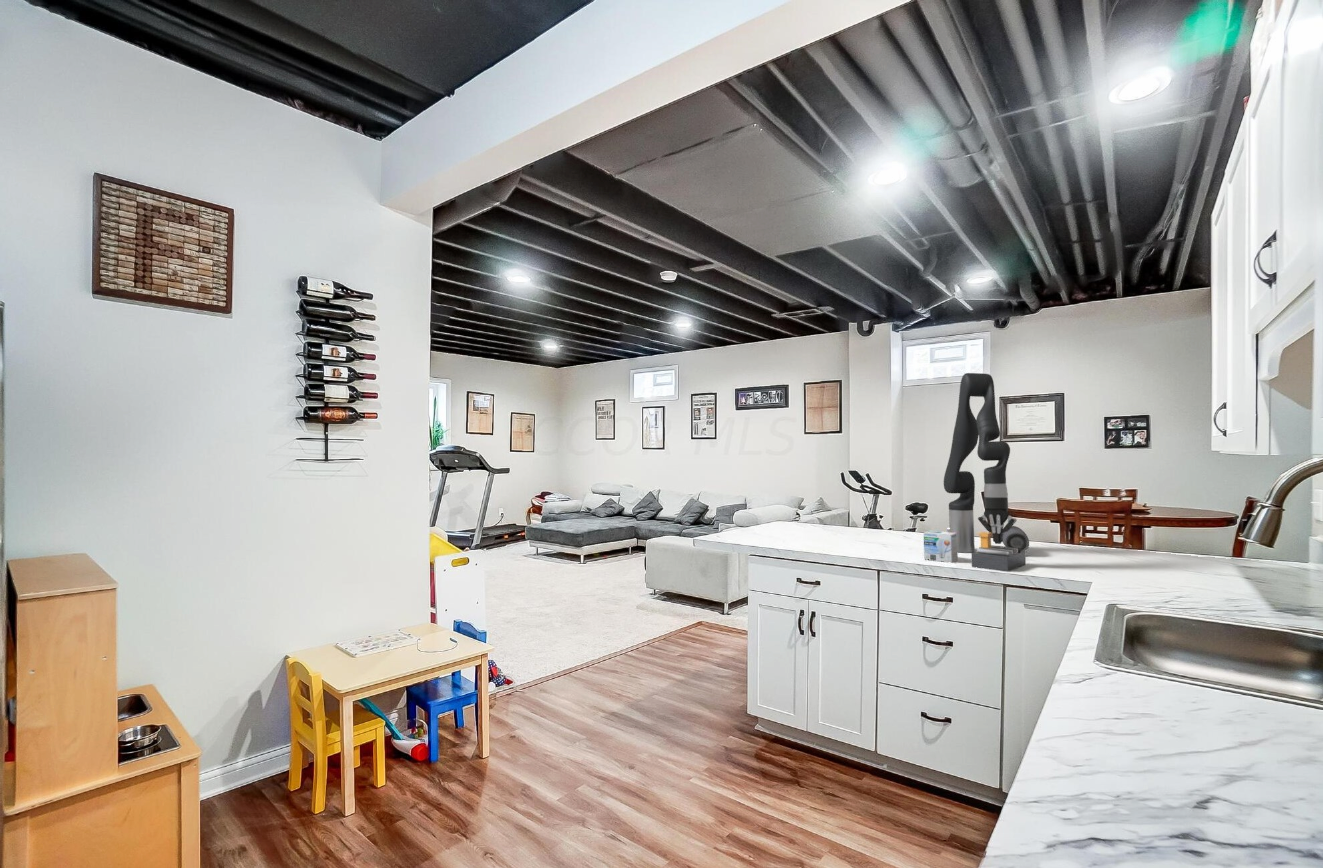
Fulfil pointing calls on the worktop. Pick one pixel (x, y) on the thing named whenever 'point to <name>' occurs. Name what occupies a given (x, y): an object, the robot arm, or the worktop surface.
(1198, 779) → the worktop surface
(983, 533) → the breaker handle
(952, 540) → the light bulb box
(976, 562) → the breaker box
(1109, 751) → the worktop surface
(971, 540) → the robot arm
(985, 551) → the dressed cables
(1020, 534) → the bluetooth speaker
